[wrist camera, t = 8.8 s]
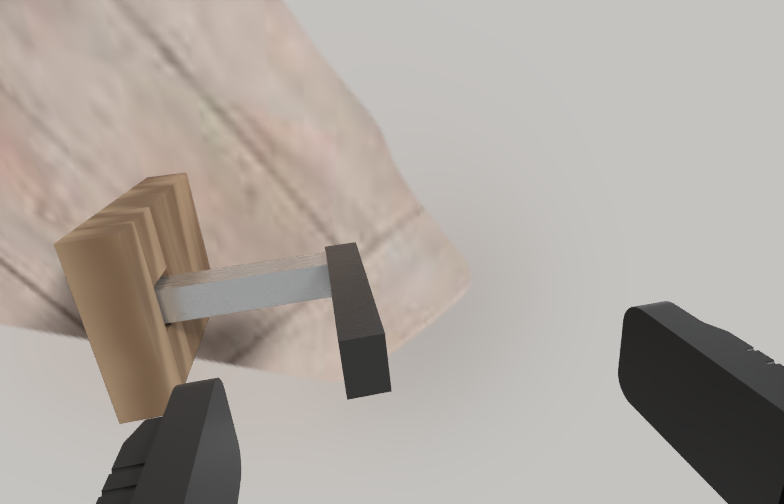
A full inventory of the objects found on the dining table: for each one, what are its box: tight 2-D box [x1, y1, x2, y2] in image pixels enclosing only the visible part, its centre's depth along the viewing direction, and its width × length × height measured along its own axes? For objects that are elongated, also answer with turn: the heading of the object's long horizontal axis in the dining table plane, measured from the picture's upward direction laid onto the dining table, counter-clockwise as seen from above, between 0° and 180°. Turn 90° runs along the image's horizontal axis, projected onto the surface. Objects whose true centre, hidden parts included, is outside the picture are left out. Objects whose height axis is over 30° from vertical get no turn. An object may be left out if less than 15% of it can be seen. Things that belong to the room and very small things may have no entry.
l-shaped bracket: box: [153, 242, 391, 399], centre depth 26 cm, size 14×3×12 cm, turn 96°
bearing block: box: [54, 173, 210, 424], centre depth 34 cm, size 3×11×16 cm, turn 6°
